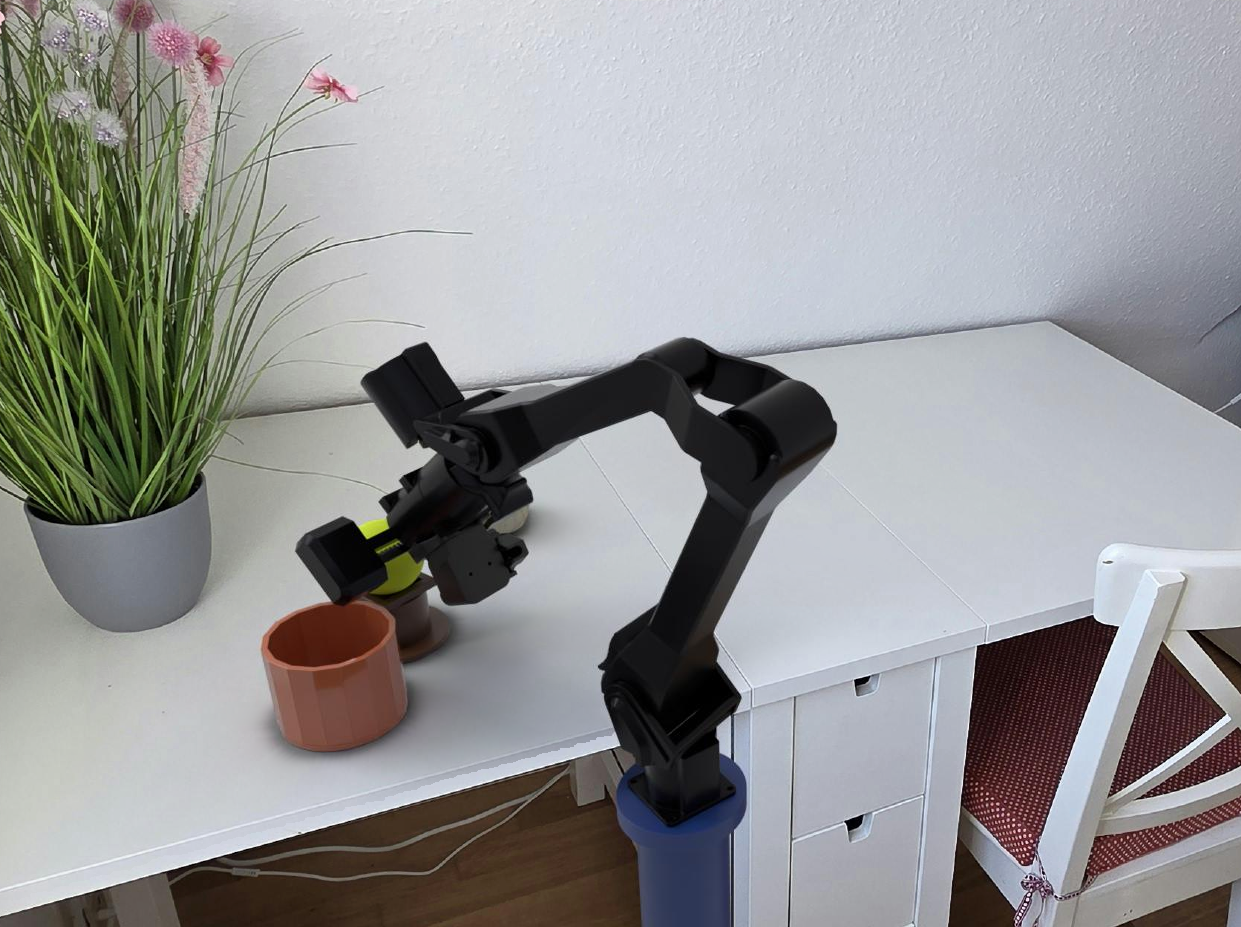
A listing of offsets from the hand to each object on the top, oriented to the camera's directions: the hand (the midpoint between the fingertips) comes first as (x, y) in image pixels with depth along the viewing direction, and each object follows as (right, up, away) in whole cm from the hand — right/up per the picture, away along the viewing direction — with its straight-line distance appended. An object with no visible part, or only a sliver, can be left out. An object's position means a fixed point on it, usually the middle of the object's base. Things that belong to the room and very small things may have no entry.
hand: (377, 561), depth 108 cm
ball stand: (0, -7, +3) cm, 8 cm away
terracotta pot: (0, -12, -6) cm, 14 cm away
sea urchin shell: (+1, +2, +21) cm, 22 cm away
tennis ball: (+1, 0, -1) cm, 1 cm away
